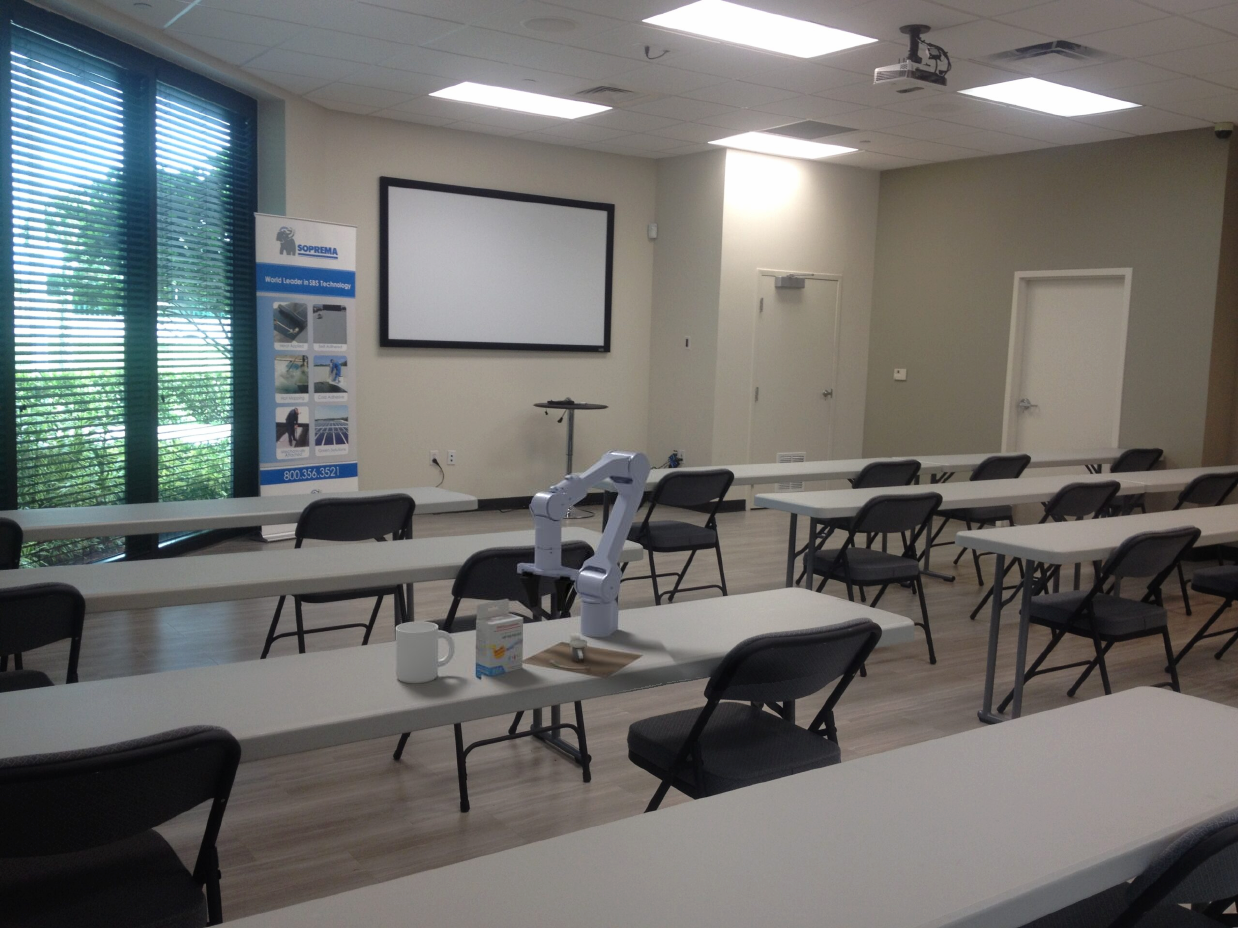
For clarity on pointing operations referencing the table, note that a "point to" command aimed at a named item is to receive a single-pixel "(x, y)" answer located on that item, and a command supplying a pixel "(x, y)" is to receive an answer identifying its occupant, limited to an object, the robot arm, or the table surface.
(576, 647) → the lever
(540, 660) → the wood grain tray mat
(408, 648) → the mug
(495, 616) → the ink box
